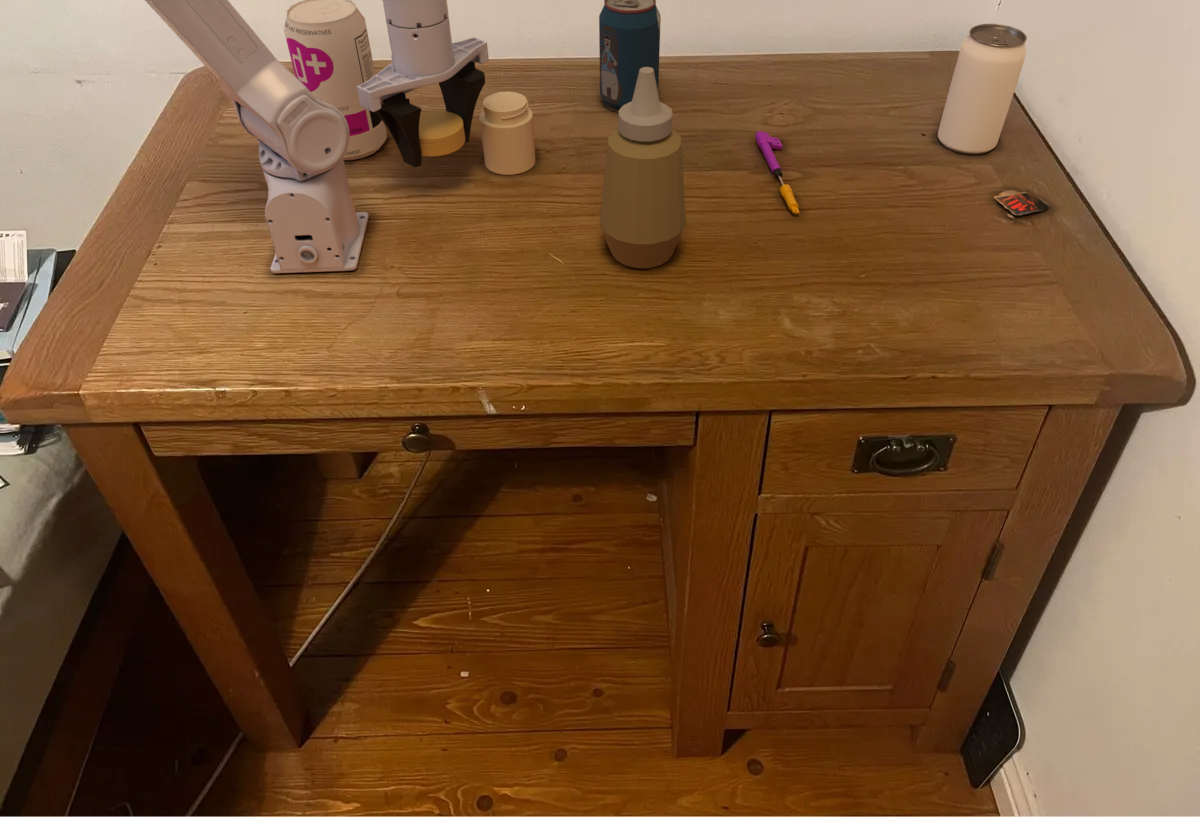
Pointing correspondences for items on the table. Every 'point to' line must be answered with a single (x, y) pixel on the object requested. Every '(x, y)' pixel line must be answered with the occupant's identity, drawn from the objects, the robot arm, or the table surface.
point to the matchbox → (1021, 202)
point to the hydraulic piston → (776, 166)
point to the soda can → (627, 47)
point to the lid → (440, 133)
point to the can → (982, 88)
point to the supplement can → (336, 65)
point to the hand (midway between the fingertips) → (437, 151)
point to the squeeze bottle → (643, 181)
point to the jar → (507, 133)
